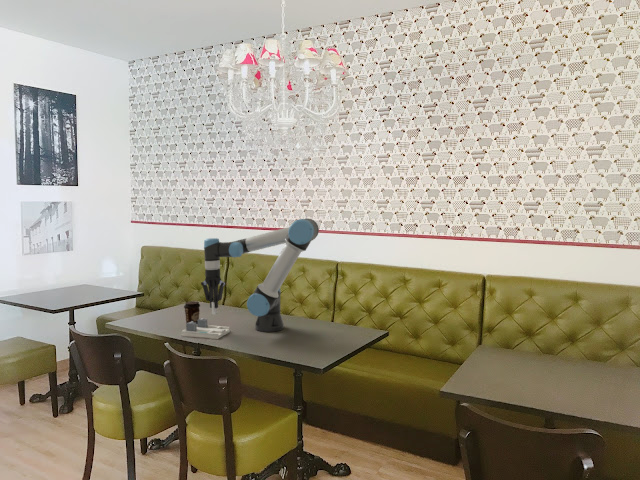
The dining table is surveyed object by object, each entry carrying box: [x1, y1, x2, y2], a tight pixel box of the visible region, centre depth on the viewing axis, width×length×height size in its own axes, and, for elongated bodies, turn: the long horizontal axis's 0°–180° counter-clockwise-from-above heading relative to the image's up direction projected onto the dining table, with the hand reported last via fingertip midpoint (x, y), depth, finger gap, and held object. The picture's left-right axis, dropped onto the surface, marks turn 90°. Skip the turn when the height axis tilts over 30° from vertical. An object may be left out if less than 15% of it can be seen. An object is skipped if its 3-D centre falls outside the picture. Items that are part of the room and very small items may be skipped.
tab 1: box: [185, 321, 197, 332], centre depth 250 cm, size 4×3×5 cm
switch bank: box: [180, 324, 231, 340], centre depth 253 cm, size 20×14×3 cm
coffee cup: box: [183, 300, 201, 324], centre depth 266 cm, size 9×8×13 cm
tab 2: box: [197, 317, 208, 328], centre depth 257 cm, size 4×3×5 cm
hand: (214, 314), depth 255 cm, fingers closed
